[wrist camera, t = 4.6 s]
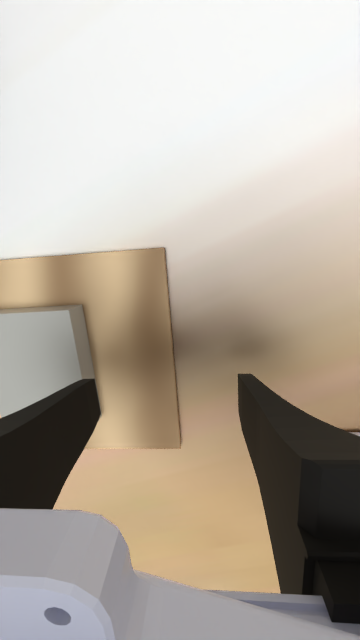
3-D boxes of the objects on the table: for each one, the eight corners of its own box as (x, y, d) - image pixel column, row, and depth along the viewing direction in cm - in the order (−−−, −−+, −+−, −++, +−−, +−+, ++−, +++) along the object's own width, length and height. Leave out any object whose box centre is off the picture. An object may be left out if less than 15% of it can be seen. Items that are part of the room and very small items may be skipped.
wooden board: (164, 247, 14) (163, 247, 14) (181, 442, 18) (180, 448, 18) (-62, 265, 16) (-72, 265, 15) (-5, 442, 19) (-11, 448, 19)
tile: (68, 310, 13) (-30, 315, 14) (92, 431, 16) (5, 431, 16) (83, 303, 15) (-6, 308, 16) (102, 413, 17) (24, 415, 18)
